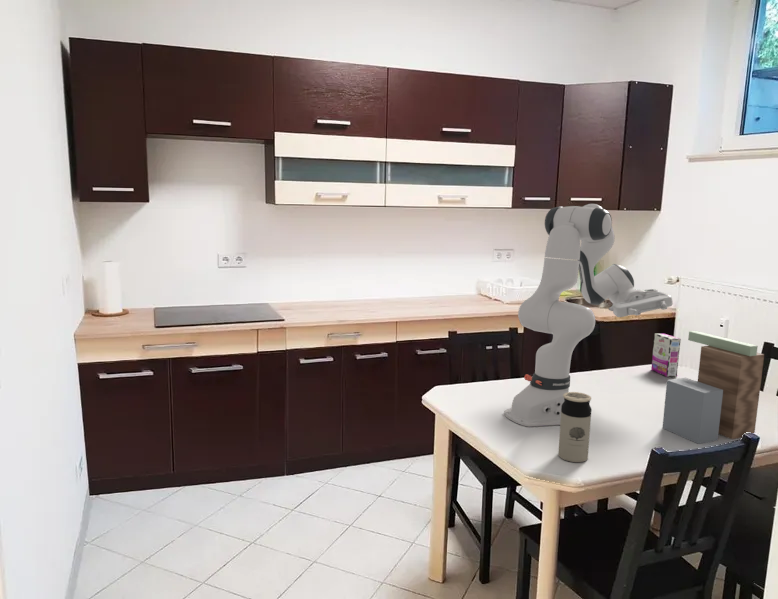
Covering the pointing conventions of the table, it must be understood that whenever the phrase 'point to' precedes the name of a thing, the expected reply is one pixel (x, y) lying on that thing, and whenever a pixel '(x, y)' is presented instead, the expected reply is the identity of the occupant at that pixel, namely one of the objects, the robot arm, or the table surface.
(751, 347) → the rail
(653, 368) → the candy bar box
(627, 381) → the table surface
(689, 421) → the grey pedestal
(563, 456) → the travel mug
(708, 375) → the walnut stand
